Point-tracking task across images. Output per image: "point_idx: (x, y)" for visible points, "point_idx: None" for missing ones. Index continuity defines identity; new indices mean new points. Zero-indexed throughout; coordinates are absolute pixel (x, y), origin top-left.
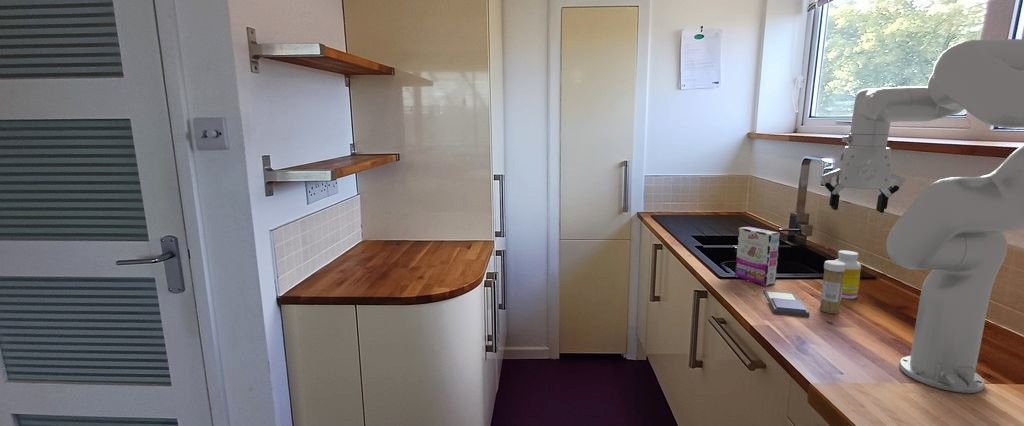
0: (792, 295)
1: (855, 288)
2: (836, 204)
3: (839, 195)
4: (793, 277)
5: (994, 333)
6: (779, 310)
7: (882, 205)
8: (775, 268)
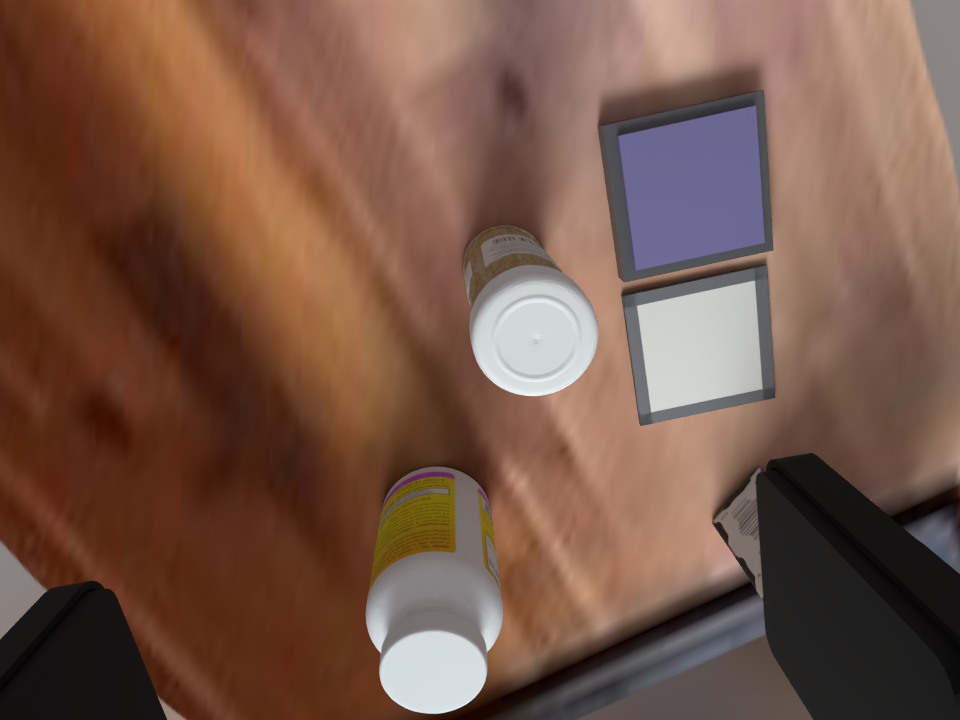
0: (650, 389)
1: (391, 508)
2: (847, 501)
3: (951, 681)
4: (624, 652)
5: None
6: (737, 96)
7: (9, 676)
8: (753, 563)
